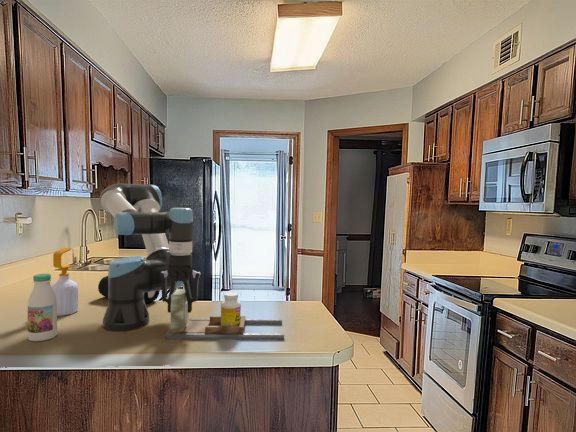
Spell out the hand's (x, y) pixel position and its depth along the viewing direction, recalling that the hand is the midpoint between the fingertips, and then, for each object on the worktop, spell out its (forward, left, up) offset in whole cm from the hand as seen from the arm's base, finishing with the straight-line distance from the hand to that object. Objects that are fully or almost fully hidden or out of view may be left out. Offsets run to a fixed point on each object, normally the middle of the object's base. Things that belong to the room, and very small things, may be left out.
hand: (179, 321), depth 125 cm
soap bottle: (-47, -21, -3) cm, 51 cm away
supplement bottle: (+12, +12, -3) cm, 18 cm away
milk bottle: (-25, -34, -3) cm, 42 cm away
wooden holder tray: (+7, +7, -3) cm, 10 cm away
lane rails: (+12, +12, -3) cm, 17 cm away
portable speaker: (-47, +4, -4) cm, 47 cm away
